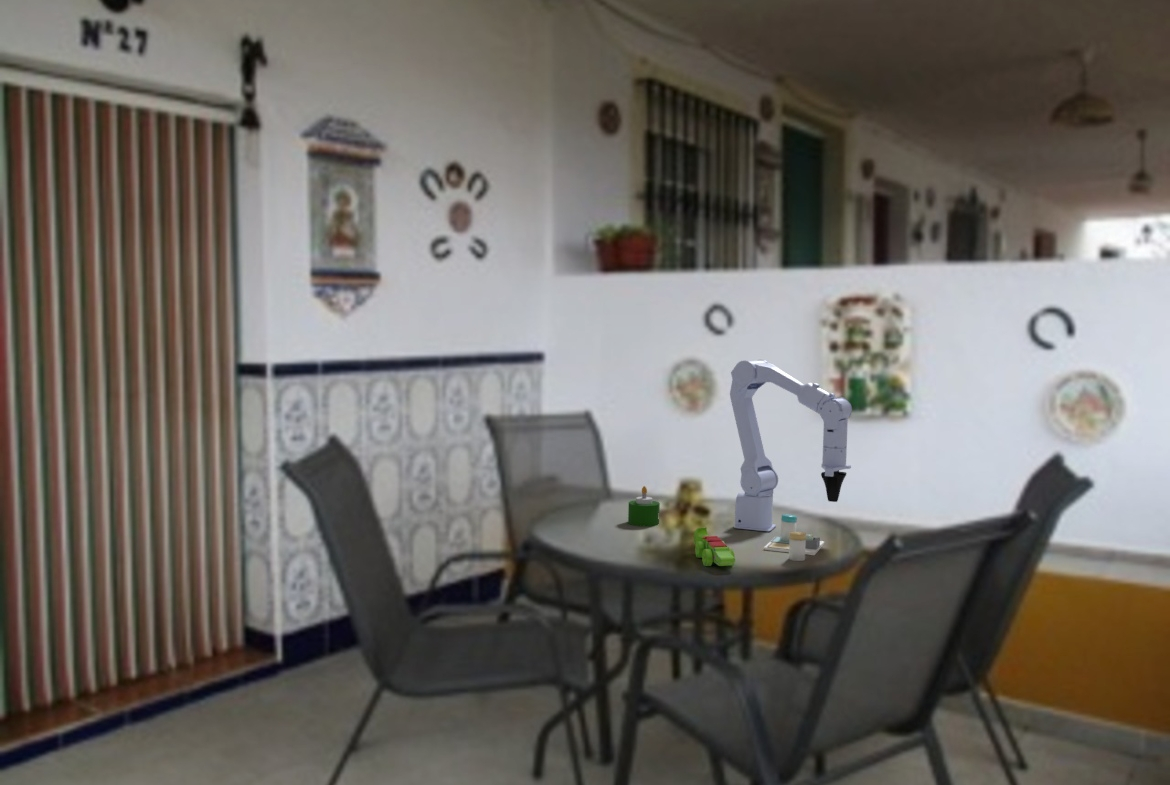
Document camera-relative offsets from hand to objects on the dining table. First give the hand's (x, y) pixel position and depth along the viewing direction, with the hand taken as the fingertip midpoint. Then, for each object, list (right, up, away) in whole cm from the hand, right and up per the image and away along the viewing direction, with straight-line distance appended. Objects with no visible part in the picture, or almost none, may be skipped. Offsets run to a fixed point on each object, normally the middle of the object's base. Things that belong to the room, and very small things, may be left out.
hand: (832, 501), depth 248 cm
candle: (-46, -8, +18) cm, 50 cm away
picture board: (-11, -10, -7) cm, 16 cm away
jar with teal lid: (-12, -9, -3) cm, 15 cm away
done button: (-8, -9, -9) cm, 15 cm away
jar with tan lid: (-13, -11, -19) cm, 25 cm away
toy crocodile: (-32, -12, -22) cm, 41 cm away
